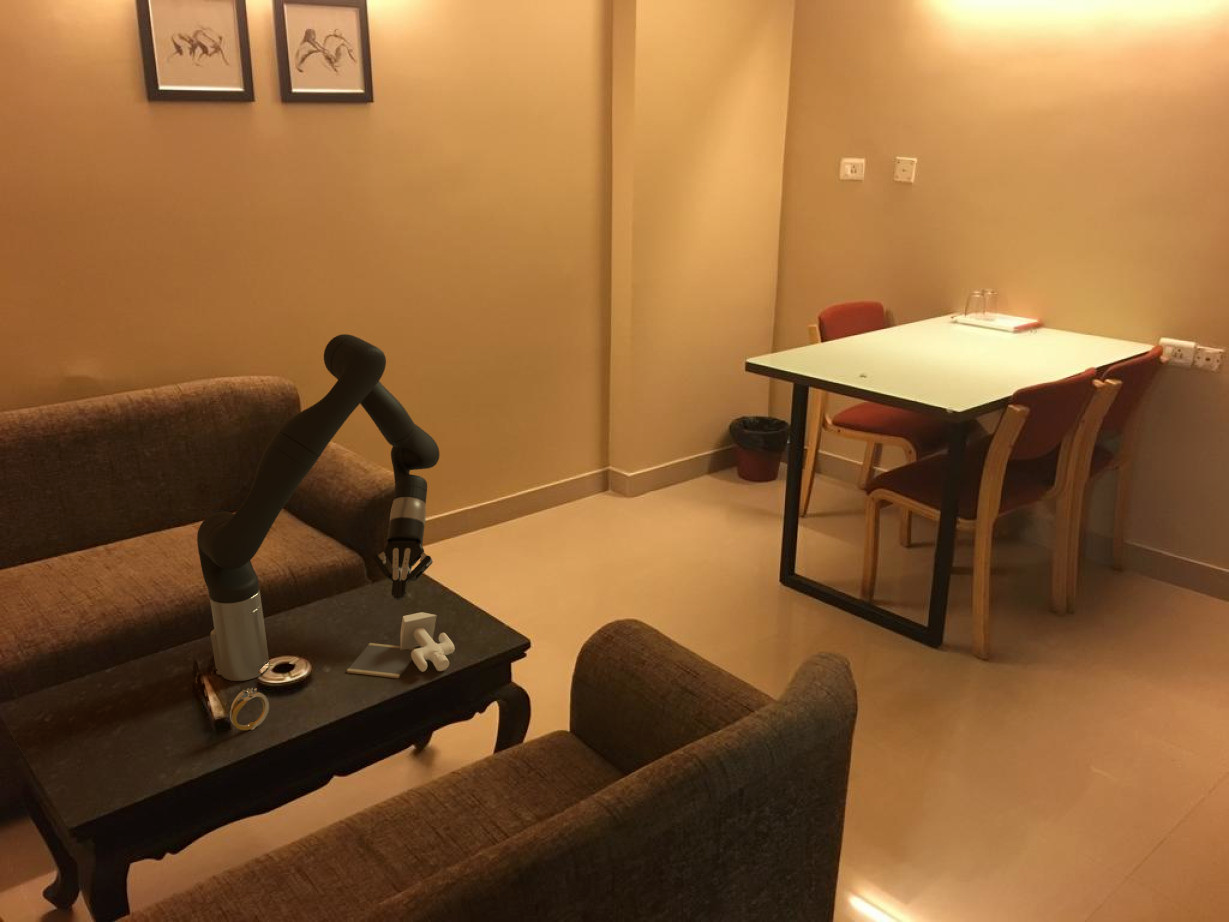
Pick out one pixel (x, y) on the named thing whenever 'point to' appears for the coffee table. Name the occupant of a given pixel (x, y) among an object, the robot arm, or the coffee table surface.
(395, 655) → the felt mat
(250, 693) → the ring
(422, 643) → the figurine
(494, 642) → the coffee table surface
